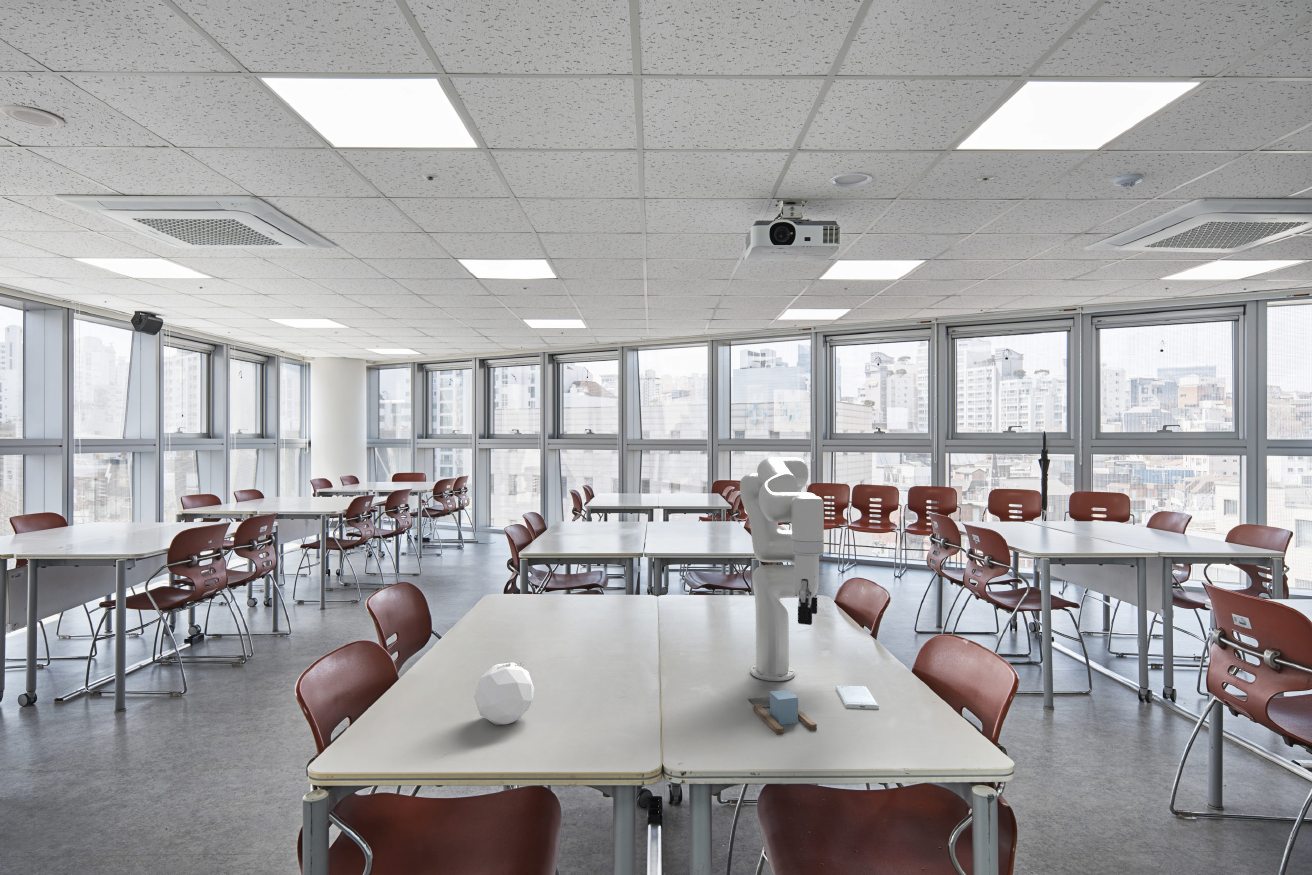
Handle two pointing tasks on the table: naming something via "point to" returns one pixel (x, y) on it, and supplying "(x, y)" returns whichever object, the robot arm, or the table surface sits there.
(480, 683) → the geodesic sphere
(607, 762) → the table surface
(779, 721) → the block
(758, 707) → the guide channel
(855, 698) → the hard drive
